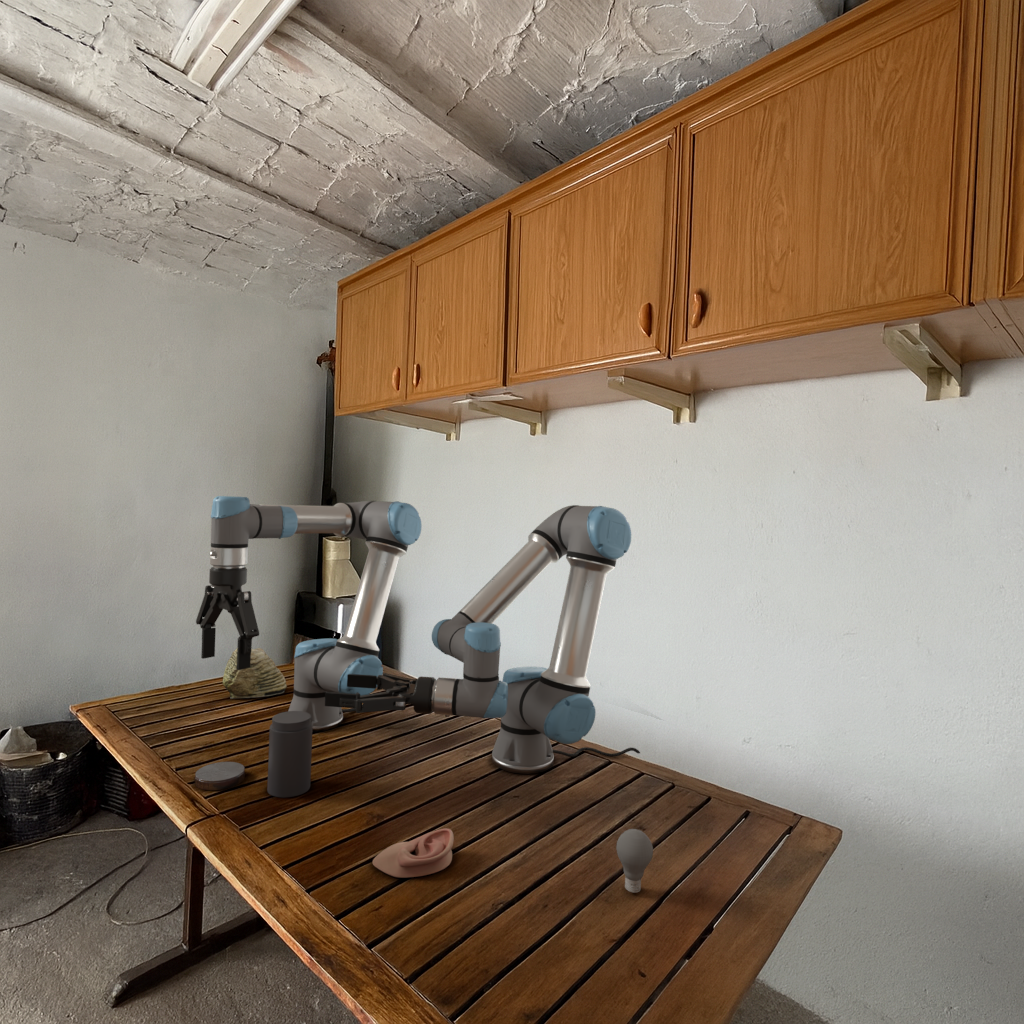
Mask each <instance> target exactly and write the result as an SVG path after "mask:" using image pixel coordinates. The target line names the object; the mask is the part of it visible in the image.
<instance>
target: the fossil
mask: <svg viewBox="0 0 1024 1024" xmlns="http://www.w3.org/2000/svg"><path fill="white" fill-rule="evenodd" d="M222 676H223V677H222V685H223V687H224V688H225V690H226V691H228V693H229V698H230V699H250V698H264V697H271V696H275V695H281V694H284V693H285V691H286V689H287V687H288V686H287V680H286V678H285V676H284V674H283V673H282V672H281V669H279V668H278V667H277V665H276V663H275V662H274V660H273V659H272V658H271V657H270V656H269V655H268V654H267V653H266V652H265V650H264V649H263V648H260V647H258V648H251V660H250V668H246V669H241V670H237V648H236V649H235V650H233V651H232V653H231V656H230V657H229V659H228V660H227V663H226V666H225V668H224V671H223V675H222Z"/></svg>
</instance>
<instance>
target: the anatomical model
mask: <svg viewBox="0 0 1024 1024" xmlns="http://www.w3.org/2000/svg"><path fill="white" fill-rule="evenodd" d="M454 837H455V835H454V832H453V830H452V829H451V828H440V829H437V830H434V831H430V832H427V833H425V834H423V835H420V836H418V837H416V838H414V839H412V840H411V839H410V840H409V841H400V842H397V843H394V844H392V845H390V846H387V847H386V848H385V849H383V850H382V851H380V852H379V853H377V855H376V856H375V857H374V858H373V859H372V865H373V866H374V867H375V868H376V869H378V870H379V871H381V872H382V873H385V874H386V875H389V876H391V877H394V878H399V879H401V878H402V879H405V878H414V877H415V878H416V877H423V876H427V875H431V874H436V873H438V872H440V871H443V870H444V869H446V868H447V867H448V866H450V865H451V863H452V861H453V851H452V849H453V846H454V840H455V839H454Z"/></svg>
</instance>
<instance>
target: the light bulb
mask: <svg viewBox="0 0 1024 1024" xmlns="http://www.w3.org/2000/svg"><path fill="white" fill-rule="evenodd" d="M615 849H616V854H617V857H618V859H619V861H620V863H621V865H622V867H623V873H624V874H623V875H624V876H625V878H624V888H625V890H627V891H628V892H630V893H634V894H635V893H639V892H640V891H641V889H642V887H641V886H642V879H643V877H644V875H645V871H646V868H647V867H648V866H649V864H650V863H651V861H652V859H653V855H654V847H653V843H652V841H651V838H649V836H648V835H647V834H646V833H645V832H643V831H642V830H641V829H636V828H629V829H627V830H625V831H623V832H622V833H621V834H620V835H619V837H618V839H617V841H616V847H615Z"/></svg>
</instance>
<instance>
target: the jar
mask: <svg viewBox="0 0 1024 1024" xmlns="http://www.w3.org/2000/svg"><path fill="white" fill-rule="evenodd" d="M312 729H313V723H312V722H311V715H310V714H309V713H307V712H303V711H282V712H279V713H277V714H275V715H274V716H272V718H271V724H270V725H269V731H268V732H269V735H268V763H267V789H266V791H267V793H268V794H269V795H270V796H273V797H275V798H293V797H297V796H300V795H303V794H305V793H306V792H308V791H309V790H310V788H311V779H312V778H311V777H312V755H313V753H312V751H313V732H312Z"/></svg>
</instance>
